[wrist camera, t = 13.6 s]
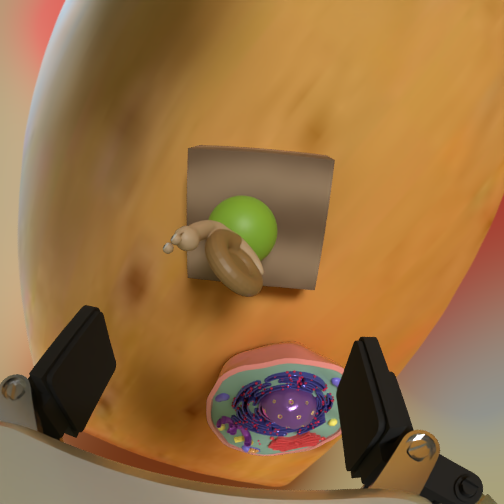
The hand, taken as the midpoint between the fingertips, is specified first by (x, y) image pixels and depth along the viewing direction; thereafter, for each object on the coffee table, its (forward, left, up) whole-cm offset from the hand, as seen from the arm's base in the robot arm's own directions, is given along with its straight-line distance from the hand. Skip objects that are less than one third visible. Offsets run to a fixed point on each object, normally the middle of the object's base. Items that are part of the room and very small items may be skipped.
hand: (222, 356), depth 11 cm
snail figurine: (0, -1, -17) cm, 17 cm away
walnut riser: (0, 0, -21) cm, 21 cm away
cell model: (+21, +5, -21) cm, 30 cm away
